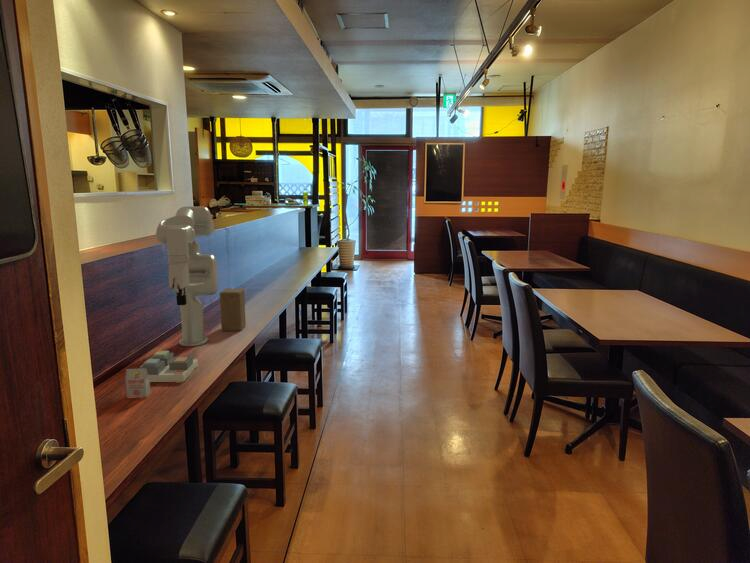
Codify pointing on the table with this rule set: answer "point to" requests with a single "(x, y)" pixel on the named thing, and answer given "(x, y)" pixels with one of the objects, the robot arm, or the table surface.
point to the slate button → (152, 362)
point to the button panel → (170, 369)
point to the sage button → (161, 354)
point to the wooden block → (232, 309)
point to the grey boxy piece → (137, 383)
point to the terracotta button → (181, 359)
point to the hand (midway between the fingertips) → (181, 304)
